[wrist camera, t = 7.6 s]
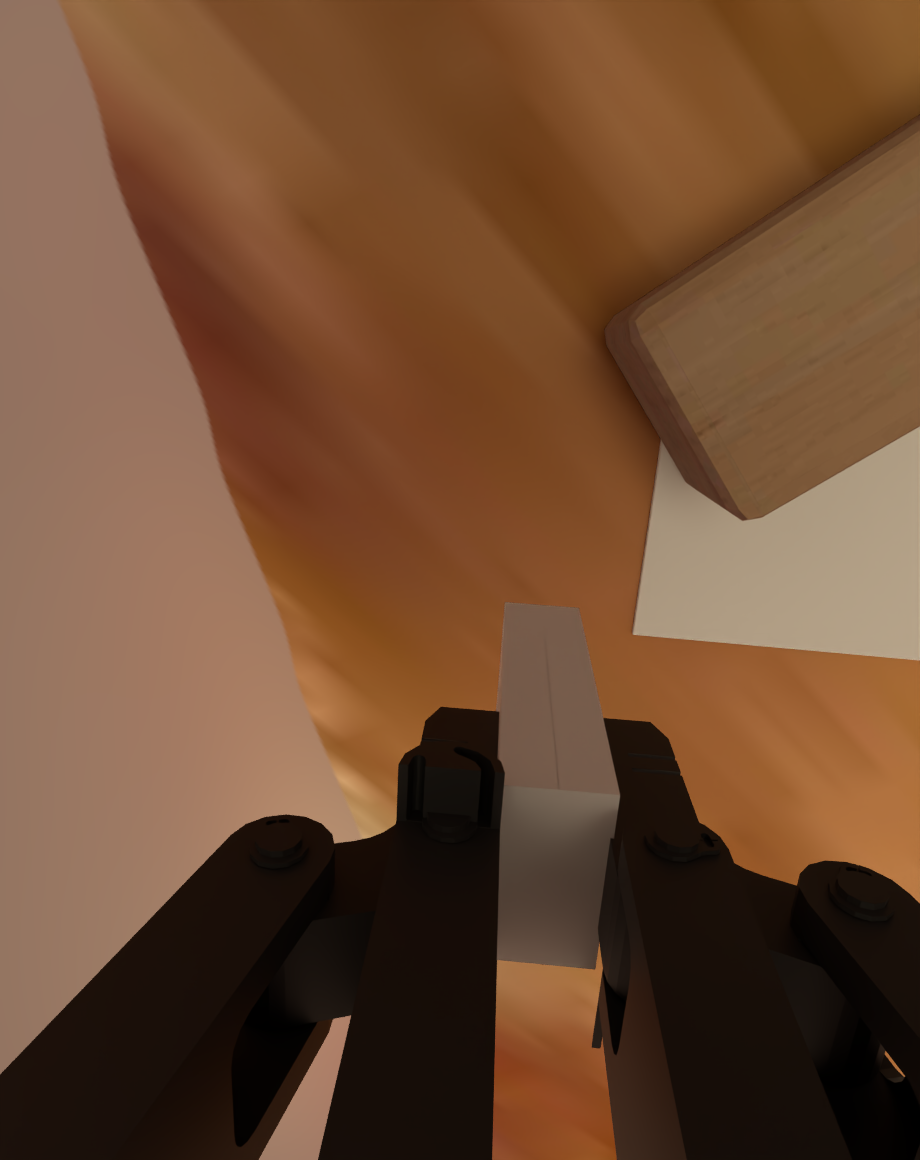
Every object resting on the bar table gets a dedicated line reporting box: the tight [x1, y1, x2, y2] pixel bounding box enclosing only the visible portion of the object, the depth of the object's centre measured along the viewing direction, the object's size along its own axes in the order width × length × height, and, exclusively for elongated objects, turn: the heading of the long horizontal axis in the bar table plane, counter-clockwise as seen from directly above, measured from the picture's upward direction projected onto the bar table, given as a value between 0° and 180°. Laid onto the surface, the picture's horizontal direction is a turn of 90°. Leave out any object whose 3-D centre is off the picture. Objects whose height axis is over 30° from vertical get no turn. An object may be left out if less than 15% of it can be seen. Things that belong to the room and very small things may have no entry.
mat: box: [632, 427, 920, 660], centre depth 41 cm, size 18×20×1 cm
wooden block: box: [604, 115, 920, 521], centre depth 33 cm, size 10×10×20 cm
